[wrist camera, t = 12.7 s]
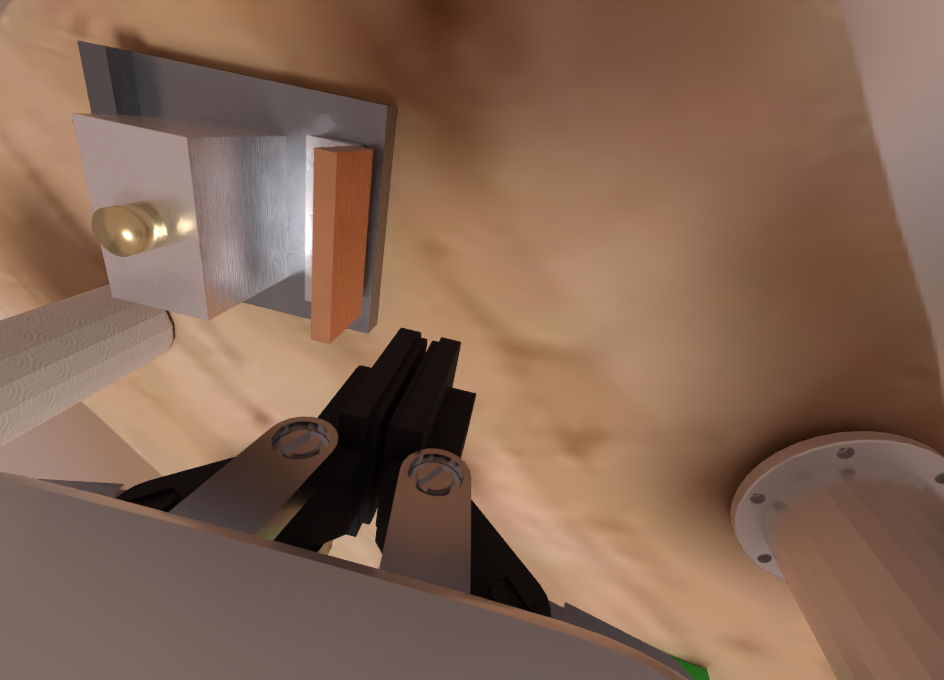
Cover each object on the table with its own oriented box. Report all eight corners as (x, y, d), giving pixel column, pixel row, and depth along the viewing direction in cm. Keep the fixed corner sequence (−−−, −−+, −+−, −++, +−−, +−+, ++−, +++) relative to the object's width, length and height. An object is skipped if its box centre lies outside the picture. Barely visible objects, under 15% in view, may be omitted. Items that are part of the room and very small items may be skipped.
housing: (285, 136, 23) (155, 137, 15) (288, 276, 27) (184, 333, 19) (199, 118, 23) (30, 111, 16) (213, 259, 27) (82, 308, 19)
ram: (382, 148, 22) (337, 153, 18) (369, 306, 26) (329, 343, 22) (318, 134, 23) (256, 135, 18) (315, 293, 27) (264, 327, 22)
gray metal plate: (397, 107, 23) (376, 103, 20) (376, 324, 29) (358, 343, 26) (130, 50, 24) (77, 40, 21) (163, 271, 30) (125, 285, 27)
